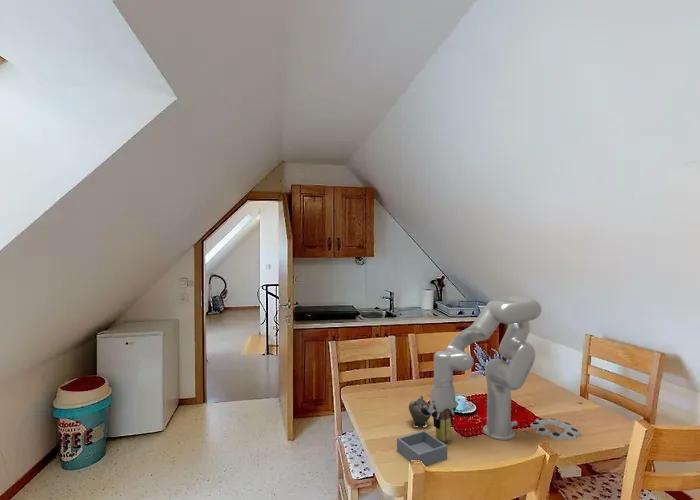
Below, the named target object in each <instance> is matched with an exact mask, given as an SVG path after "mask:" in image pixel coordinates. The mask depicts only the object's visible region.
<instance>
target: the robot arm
mask: <svg viewBox="0 0 700 500" xmlns="http://www.w3.org/2000/svg"><path fill="white" fill-rule="evenodd" d="M541 314H542V305H541V304H540V303H539V301H537V300H536V299H533V298H528V297H524V296H519V295H510V296H509V297H507V298H506V300H505V302H504V301H501V300H494V299H493V300H491V301H489V302H488V303H486V305H485V306H484V308H483V309H482V310H481V312H480V313H479V314H478V315H477V317H476V318H475V319H474V321H473V323H472V324H471V325H470V326H469V327H467V328H464V330H462V331H460V332H459V333H457V334H456V335H455V336H454V337H453V338H452V339H451V340H450V342H449V344H447V346H446V348H445V349H444V350H438V351H436V352H435V353H434V354H433V384H432V387H431V390H430V400H429V409H428V410H427V411H428V412H429V413H430V415H431V417H432V419H433V421H432V422H433V424H432V425H433V427H434V428H435V429H436V428H437V429H440V419H439V416H440V412H443V411H444V410H445V409H447V408H449V410H450V416H451V426H453V425H454V415H455V411H456V410H457V408H458V406H459V403H458V402H457V400H456V392H455V387H454V384H453V383H454V380H455V379H454V377H453V376H454V371H458V372H459V371H460V372H461V371H462V372H465V371H469V370H471V369H472V368H473V366H474V358H473V356H472V355H470V353H468V352H466V351H465V349H466V348H467V347H469V346H470V345H471V344H474V343H478V342H481V341H486V340H489V339H490V337H491V336H492V335H493V333H494V331H495V330H496V329H497V327H498V326H499V325H500V323H501V324H505V325H508V327H507V329H506V331H505V333H504V336H503V337H502V339H501V341H500V344H499V346H498V352H499V354H500V355H501V356H502V357H503V358H505V359H507V360H509V361H510V362H507V361H505V360H503V359H500V358H492V359H490V360H488V361H487V362H486V364H485V369H484V373H485V378H486V387H487V388H486V391H487V392H486V393H487V395H486V424H485V425H484V426H483V427H482V432H483V434H484V435H485V436H487V437H489V438H492V439H495V440H499V441H509V440H513V438H515V431H514V430H513V428H514V427H516V426H518V422H517V421H516V420H514V421H511V416H512V415H511V414H512V413H511V411H512V406H511V405H512V392H511V391H518V390H519V389H521V388H522V386H523V385H524V383H525V382H526V380H527V378H528V376H529V374H530V371H531V370H532V367H533V365H534V363H535V360H536V351H535V347H534V346H533V345H532V344H531V343H529V342H526V341H527V338H528V336H529V333H530V328H531V327H530V321H533V320H536V319H537V318H539V316H540V315H541ZM436 412H437V415H436Z"/></svg>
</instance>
